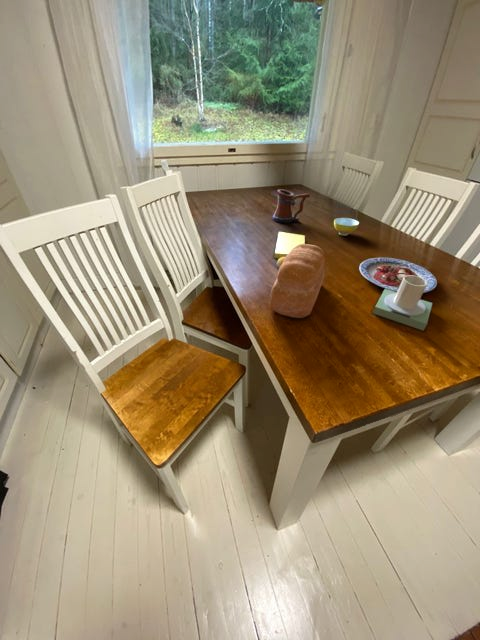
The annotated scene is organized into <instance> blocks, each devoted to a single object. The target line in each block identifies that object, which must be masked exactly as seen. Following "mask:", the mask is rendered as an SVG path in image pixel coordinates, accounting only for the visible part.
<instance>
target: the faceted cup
mask: <svg viewBox="0 0 480 640" xmlns="http://www.w3.org/2000/svg"><path fill="white" fill-rule="evenodd" d="M427 284H428V283H427V281H426V280H425V279H423V278H421V277H418V276H414V275H406V276H404V278H403V280H402V282H401V284H400V287H399V289H398V291H397V294H396V296H395V298H394V303H395V304H396V305H397V306H399V307H401V308H404V309H414V308H415V307H416V306H417V304H418V302H419V300H420V299H421V298H422V296H423V294H424V293H423V292H424V290H425V288H426V286H427Z"/></svg>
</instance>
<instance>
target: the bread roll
mask: <svg viewBox="0 0 480 640" xmlns="http://www.w3.org/2000/svg"><path fill="white" fill-rule="evenodd" d="M284 259H285V257H281V258H278V259H277V262H276V267H277V268H278V269H279V268H280V267H281V265H282V263H283V261H284Z"/></svg>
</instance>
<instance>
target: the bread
mask: <svg viewBox="0 0 480 640" xmlns="http://www.w3.org/2000/svg"><path fill="white" fill-rule="evenodd" d="M325 262H326V255H325V252H324V251H323V249H322V248H321V247H320V246H317V245H314V244H309V243H305V244H300V245H297V246H296V247H294V248H293V249H292V250H291V252H290V253H289V254H288V255H287V256H286V257H285V259H284V261H283V263H282V265H281V267H280V268H278V271H277V273H276V280H275V281H274V284H273V285H272V288H271V290H270V296H269V297H270V298H269V305H270V307H271V310H272V311H273V312H275V313H277V314H279V315H281V316H286V317H290V318H296V319H304V318H305V317H307V316H309V315H311V313H312V311H313V308H314V306H315V304H316V302H317V299H318V296H319V293H320V290H321V287H322V285H323V282H324V280H325V276H326V268H325V265H324V264H325Z"/></svg>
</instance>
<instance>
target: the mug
mask: <svg viewBox="0 0 480 640" xmlns="http://www.w3.org/2000/svg"><path fill="white" fill-rule="evenodd" d="M310 195H311V194H310V193H309V192H308V193H304V194H303V193H302V194H296V195H294V193H293V192H292V191H289V190H287V189H283V188H279V189H277V205H276V209H275V212H274V214H273V215H272V219H273V221H275V222H277V223H281V224H288V223H292V222H293V221H295V222H298V221H300V218H299V217H297V216H298V215H299V214H301V213H302V212H303V210H304V202H305V201H306V199H307V198H310ZM300 198H302V199H301V201H300V203H299V209H298V210H297V211H296V212H295V213H294V214H293V211H292V207H294V206H295V205H296V203H297V199H300Z"/></svg>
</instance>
